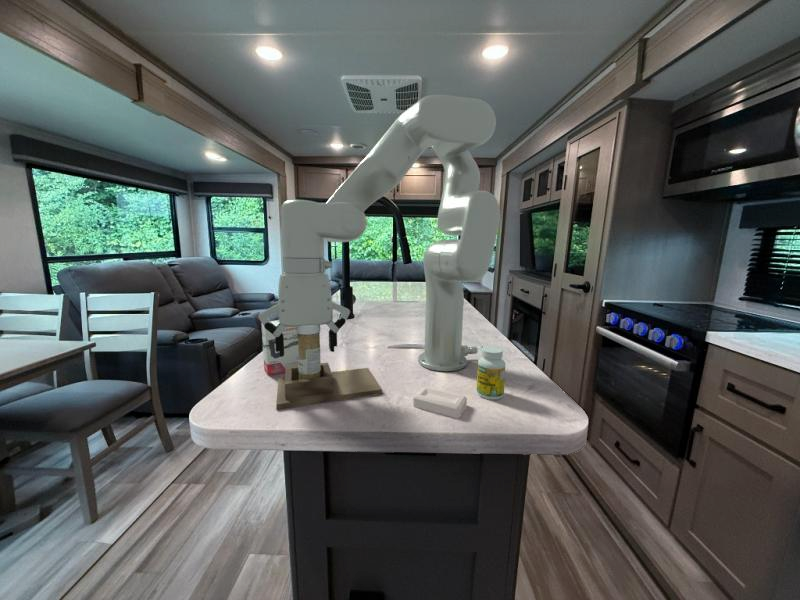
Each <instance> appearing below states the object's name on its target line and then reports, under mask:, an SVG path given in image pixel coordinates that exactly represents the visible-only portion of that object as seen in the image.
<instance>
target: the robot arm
mask: <svg viewBox="0 0 800 600" xmlns="http://www.w3.org/2000/svg"><path fill="white" fill-rule="evenodd" d="M496 126H497V118H496V115H495V111H494V110H493V108H492V107H491V105H490V104H488V102H486V101H484V100H482V99H481V98H475V97H474V98H473V97H468V96H467V97H465V96H459V95H458V96H457V95H450V94H449V95H447V94H432V95H431V94H430V95H426V96H424V97H421V98H420V99H419V100H418V101H417V102H415V103H413V104H412V105H411V106H409V107H408V108H407V109H406V110H405V111H403V112H402V113H401V114H400V115H399V116H398V117H397V118H396V119H395V121H394V122H393V123H392V124H391V126H390V127H389V128H388V129H387V130H386V132H385V133H384V134H383V135H382V137H381V138H380V139H379V140H378V142H377V143H376V144H375V145H374V146H373V148H372V149H371V150H370V151H369V153H367V155H366V156H365V157H364V159H362V161H361V162H360V163H359V164H358V165H357V166H356V167H355V169H354V170H353V171H352V173H350V174H349V176H348V177H347V178H346V179H345V180H344V182H342V183H341V185H340V186H339V187H338V189H336V190H335V192H334V193H333V194H332V195H331V196H330V198H329V199H328V200H327V201H326V202H317V201H313V200H308V199H307V200H306V199H290V200H286V201H283V203H282V204H281V209H280V210H281V211H280V212H281V216H280V217H281V233H282V235H281V237H282V253H283V254H282V256H283V273H282V274H280V275H279V282H278V291H277V292H278V293H277V294H278V296H277V297H278V299H277V301H278V302H277V304H275V305H272V306H271V307H269V308H267V309H265V310H263V311H261V312H260V313H259V314H258V316H257V318H258V319H259V321H260V323H261V325H262V324H263V325H264V327H265V329H267V330H268V331H269V332H270V333H272V334H273V335H274V337H275V341H276V352H279V351H280V357H283V356H284V337H283V334H282V332H283V331H284V330H285V329H286V327H294V326H303V325H320V326H321V325H326V326H327V327H328V328H329V331H328V348H329V351H330V352H331V353H334V352H335V347H338V332H339V330H340V329H341V328H342V327H343V326H344V325H345V324H346V321H347V320H348V318H349V316H350V313H351V311H350V309H349V308H347V307H344V306H343V305H341V304H338V303H336V302H334V301H333V298H332V297H333V296H332V290H331V283H330V277H329V274H328V273H326V270H328V269H332V268H333V262H332V261H328V260H326V259H325V241H327V242H329V243H348V242H349V243H350V242H353V241H355V240H357V239H359V238H360V237H361V236H362V235H363V234H364V233H365V231H366V229H367V224H368V220H367V217H366V214H365V211H366V210H367V209H368V208H369V207H370V206H371V205H373V204H374V203H375V202H376V201H378V200H380V199H381V198H383V197H385V196H386V195H387V194H389V193H390V192H392V190H394V189H395V188H396V187H397V186H398V185H399V184H400V183H401V181H402V180H403V178H405V176H406V175H407V173H409V171H410V169H411V168H412V167H413V166H414V164H415V163H416V162H417V161H418V159H419V158H420V157H421V155H422V154H423V153H424V152H425V151H426V150H427V149H429V148H431V147H432V149H433V150H434V152H435V154H436V156H437V157H438V159H439V160H440V162H441V164H442V166H443V170H444V183H443V188H442V194H441V199H440V203H439V204H440V205H439V208H438V213H437V221H436V222H437V227H438V229H439V230H440V232H441V233H442V234H445V235H447V236H460V237H459V239H442V240H438V241H434V242H433V243H431V244H430V245H429V246H428V247H427V249H426V250H425V252H424V255H423V259H422V261H423V262H422V263H423V265H422V266H423V272H424V278H425V318H424V320H425V321H424V350H423V351H424V352H422V353H420V354H419V355H418V363H419V364H420V365H421V366H422V367H424V368H426V369H429V370H433V371H439V372H454V371H460V370H462V369H464V368H465V367H466V366H467V364H468V359H467V358H466V356H468V355H476V354H478V351H479V349H478V347H477V346H470V347H468V345H467V344H465V345H462V343H463V324H464V323H463V319H464V305H465V304H464V303H465V302H464V301H465V296H464V295H465V294H464V289H463V285H462V282H468V283H470V282H471V283H472V282H473V283H474V282H478V281H479V280H481V279H482V278H483V277H484V276H485V275H486V274H487V272H488V270H489V269H490V265H491V262H492V258H493V255H494V250H495V244H496V241H497V236H498V231H499V226H500V221H501V211H500V210H501V208H500V204H499V201H498V199H497V198H496V197H495V195H494V194H493V193H491V192H490V191H487V190H479V189H480V182H481V171H480V168H479V166H478V164H477V162H476V161H475V159H474V157H473V156H472V154H471V153H470V151H469V150H472V149H475V148H477V147H479V146H482V145H484V144H485V143H487V142H488V141H489V140H490V139H491V137H493V135H494V133H495V130H496ZM334 310H335V311H336V312H339V313H341V314H340V317H339V318H338V319H337V320H336V321H335V322H334V321H333V317H334V314H333V313H334V312H333V311H334ZM276 313H277V314H278V320H279V322H280V323H279V324H278V325H277V327H276V326H275V325H274V324H272V323H271V322H270V321H271V320H270V319H269V317H271V316H273V315H274V314H276Z"/></svg>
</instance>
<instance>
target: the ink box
mask: <svg viewBox="0 0 800 600" xmlns="http://www.w3.org/2000/svg"><path fill="white" fill-rule="evenodd" d="M269 321H270V322H271V323H272V324H274V325H275V326H276V327H277V325H278V324H279V323H280V322H279V319H277V320H269ZM282 334H283V337H284V356H283V357H280V351H279V352H276V341H275V337H274V335H273V334H272V333H270V332H269V331H268V330H267V329H265V327H264V325H263V324H262V323H261V335H262V336H261V338H262V353H263V354H262V355H263V368H264V371H265V373H266V375H267V376H272V375H276V374H281V373H285V367H290V366H298V334H297V326H294V327H286V329H285V330H284V331H283V332H282Z"/></svg>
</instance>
